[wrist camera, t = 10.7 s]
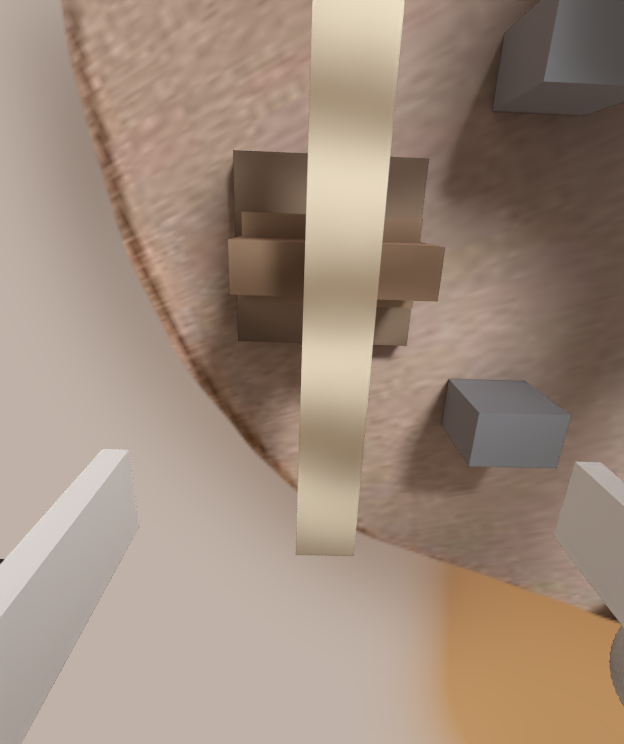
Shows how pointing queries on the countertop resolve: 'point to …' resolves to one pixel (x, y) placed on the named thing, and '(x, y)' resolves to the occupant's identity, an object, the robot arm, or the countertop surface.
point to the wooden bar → (342, 256)
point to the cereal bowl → (618, 663)
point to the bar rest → (548, 96)
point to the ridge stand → (287, 248)
